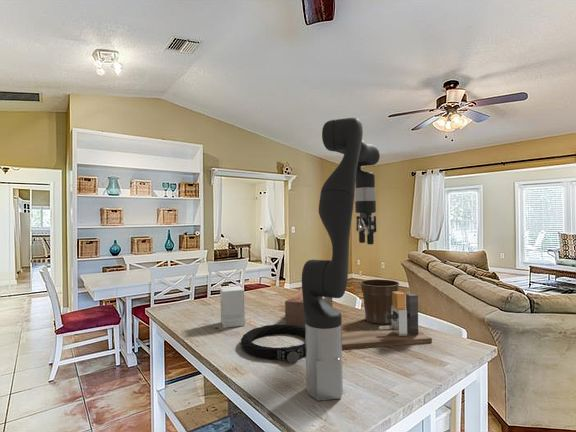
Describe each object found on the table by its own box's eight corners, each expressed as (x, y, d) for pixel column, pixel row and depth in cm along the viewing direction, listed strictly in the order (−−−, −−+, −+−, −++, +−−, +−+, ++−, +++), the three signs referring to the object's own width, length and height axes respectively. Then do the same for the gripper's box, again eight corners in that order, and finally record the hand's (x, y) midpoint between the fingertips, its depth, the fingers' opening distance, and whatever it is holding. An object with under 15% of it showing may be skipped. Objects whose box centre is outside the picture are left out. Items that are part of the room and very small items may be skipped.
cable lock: (305, 320, 138) (335, 346, 109) (305, 329, 138) (335, 358, 109) (235, 326, 130) (247, 357, 101) (235, 336, 130) (248, 370, 101)
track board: (431, 342, 120) (431, 297, 120) (337, 349, 115) (336, 302, 115) (414, 331, 132) (413, 290, 132) (327, 337, 127) (327, 295, 127)
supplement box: (241, 319, 151) (240, 285, 151) (245, 326, 142) (244, 289, 142) (220, 322, 148) (219, 287, 148) (223, 328, 139) (222, 291, 139)
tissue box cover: (319, 328, 138) (319, 303, 138) (285, 325, 143) (285, 301, 143) (332, 311, 163) (332, 290, 163) (303, 309, 167) (302, 288, 167)
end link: (407, 335, 122) (406, 294, 122) (382, 337, 121) (381, 295, 121) (399, 330, 128) (398, 290, 128) (375, 331, 127) (374, 291, 127)
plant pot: (353, 317, 151) (352, 280, 151) (382, 313, 158) (382, 277, 158) (376, 328, 136) (375, 287, 136) (408, 322, 143) (407, 283, 143)
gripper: (382, 199, 123) (383, 244, 123) (368, 201, 137) (368, 242, 137) (362, 199, 122) (363, 245, 122) (349, 201, 136) (350, 242, 136)
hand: (366, 243), depth 129 cm, fingers open, 8 cm apart
